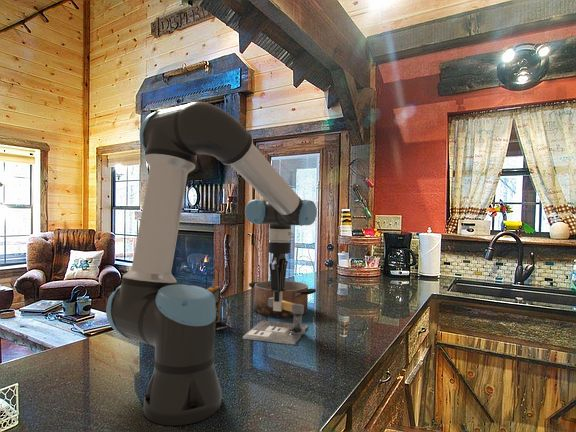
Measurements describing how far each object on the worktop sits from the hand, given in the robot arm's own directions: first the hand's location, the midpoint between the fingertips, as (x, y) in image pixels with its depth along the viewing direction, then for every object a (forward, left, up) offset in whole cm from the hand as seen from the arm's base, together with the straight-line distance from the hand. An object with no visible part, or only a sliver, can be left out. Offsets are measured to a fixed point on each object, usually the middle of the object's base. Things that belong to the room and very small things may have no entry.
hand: (277, 310), depth 123 cm
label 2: (-2, 0, -7) cm, 7 cm away
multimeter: (0, +21, -7) cm, 22 cm away
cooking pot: (+28, +6, -7) cm, 29 cm away
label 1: (-8, +4, -7) cm, 11 cm away
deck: (-2, 0, -7) cm, 7 cm away
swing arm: (+1, -3, 0) cm, 3 cm away
